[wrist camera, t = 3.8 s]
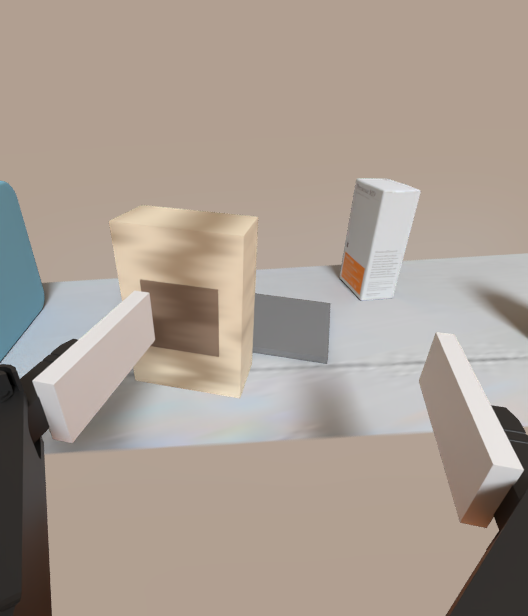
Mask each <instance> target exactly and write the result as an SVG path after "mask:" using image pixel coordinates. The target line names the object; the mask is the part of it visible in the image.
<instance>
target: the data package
mask: <svg viewBox="0 0 528 616" xmlns="http://www.w3.org/2000/svg"><path fill="white" fill-rule="evenodd" d="M43 305H44V290H43V286H42V283H41V279H40V276H39V273H38V269H37V266H36V262H35V258H34V255H33V252H32V248H31V245H30V241H29V238H28V234H27V231H26V227H25V224H24V220H23V217H22V213H21V210H20V206H19V203H18V199H17V196H16V194H15V191H14V190H13V188H12V187H11V186H10V185H9V184H8V183H6V182H4V181H0V361H1V360H2V359H3V358H4V356H5V355H6V354H7V353H8V351H9V350H10V349H11V348H12V346H13V345H14V344H15V343H16V341H17V340H18V339H19V338H20V336H21V335H22V334H23V332H24V331H25V330H26V329H27V327H28V326H29V325H30V324H31V322H32V321H33V320H34V319H35V317H36V316H37V315H38V314H39V312H40V311H41V310H42V308H43Z"/></svg>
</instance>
